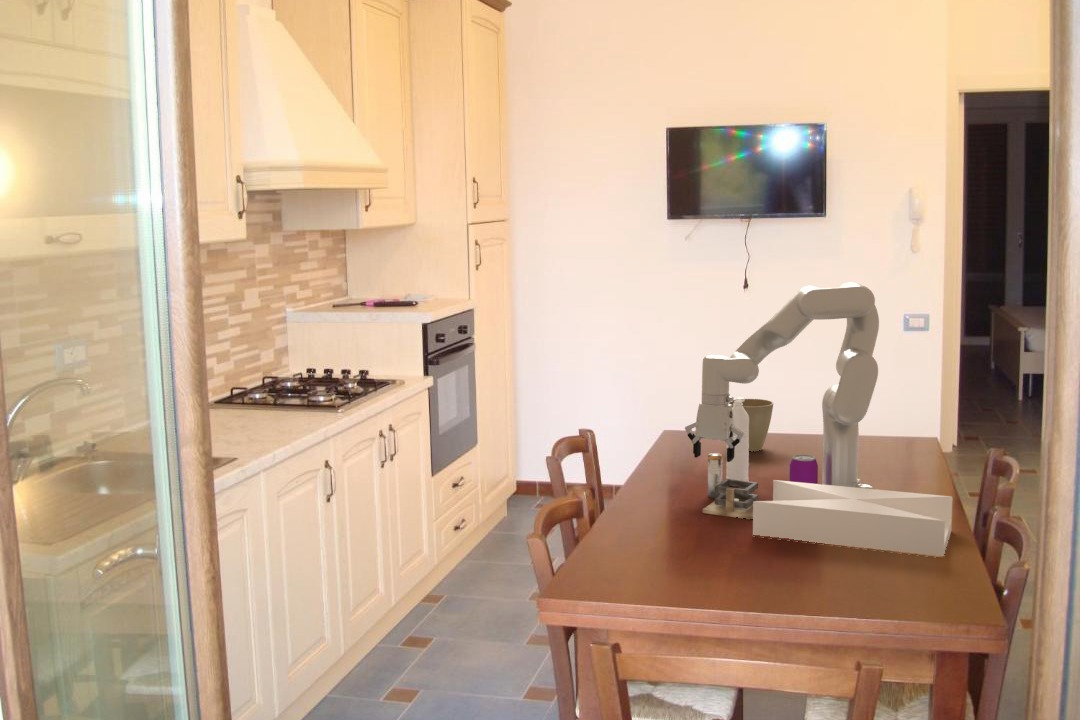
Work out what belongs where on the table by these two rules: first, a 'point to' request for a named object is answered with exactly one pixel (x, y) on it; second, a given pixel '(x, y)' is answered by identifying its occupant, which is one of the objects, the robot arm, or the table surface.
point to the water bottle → (739, 444)
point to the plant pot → (757, 421)
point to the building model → (856, 517)
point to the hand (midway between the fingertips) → (713, 458)
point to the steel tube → (714, 473)
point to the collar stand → (734, 499)
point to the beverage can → (803, 469)
